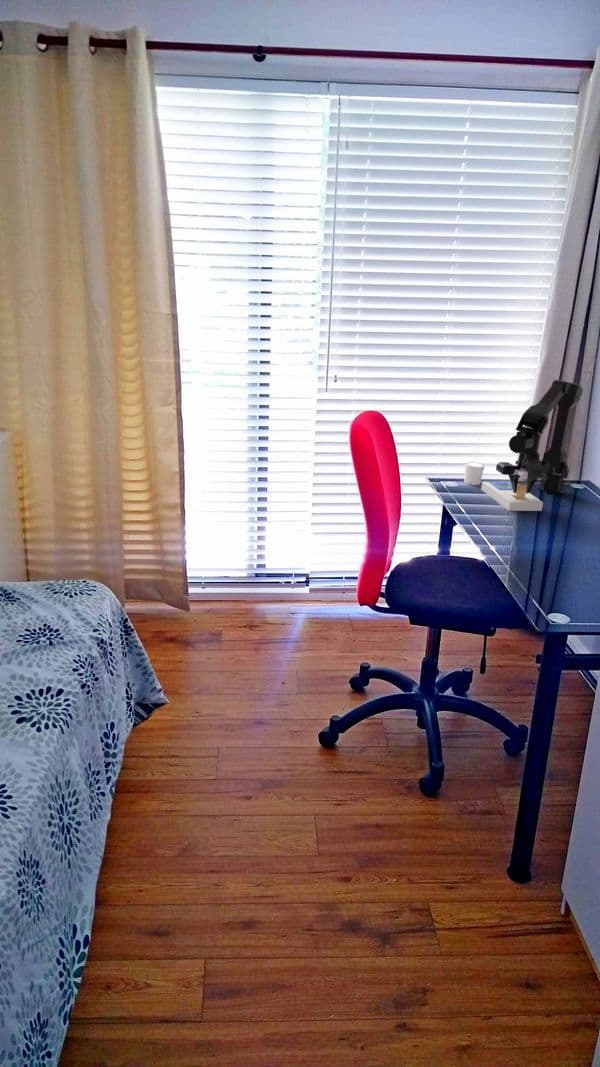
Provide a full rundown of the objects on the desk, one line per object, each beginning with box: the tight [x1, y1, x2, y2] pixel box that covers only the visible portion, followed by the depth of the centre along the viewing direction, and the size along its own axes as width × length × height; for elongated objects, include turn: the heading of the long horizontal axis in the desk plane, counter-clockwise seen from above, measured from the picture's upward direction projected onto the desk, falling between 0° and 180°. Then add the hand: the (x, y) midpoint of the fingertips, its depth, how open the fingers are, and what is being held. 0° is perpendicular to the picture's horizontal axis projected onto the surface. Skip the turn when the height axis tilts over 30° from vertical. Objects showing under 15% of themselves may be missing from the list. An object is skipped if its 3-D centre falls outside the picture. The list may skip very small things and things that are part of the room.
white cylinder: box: [463, 461, 485, 486], centre depth 285 cm, size 7×7×7 cm
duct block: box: [480, 481, 544, 512], centre depth 269 cm, size 12×22×3 cm, turn 12°
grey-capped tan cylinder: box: [515, 478, 528, 500], centre depth 263 cm, size 3×3×9 cm
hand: (520, 493), depth 263 cm, fingers open, 4 cm apart
